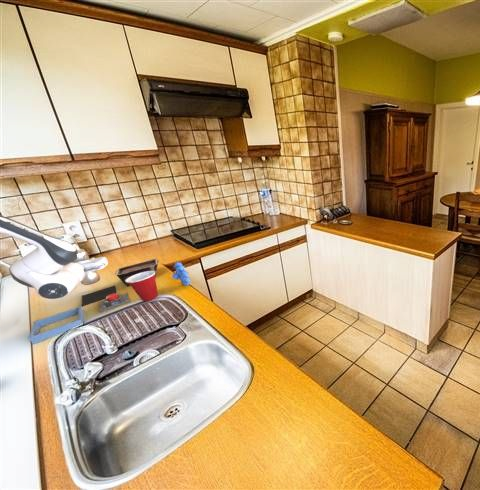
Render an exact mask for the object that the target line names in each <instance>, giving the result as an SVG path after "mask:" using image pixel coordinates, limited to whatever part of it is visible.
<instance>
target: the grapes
mask: <svg viewBox="0 0 480 490" xmlns="http://www.w3.org/2000/svg"><path fill="white" fill-rule="evenodd" d="M173 268H174V269H175V271H174V273H173V274H172V277H171V278H172V279H174V280H179V281H181V282H180V284H181V285H183V286H186V287H188V286H190V284H191V277H189V271H187V270H185V269H186V266H184V265H183V263H182V262H179V261H176V262H175V263H174V264H173Z"/></svg>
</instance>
